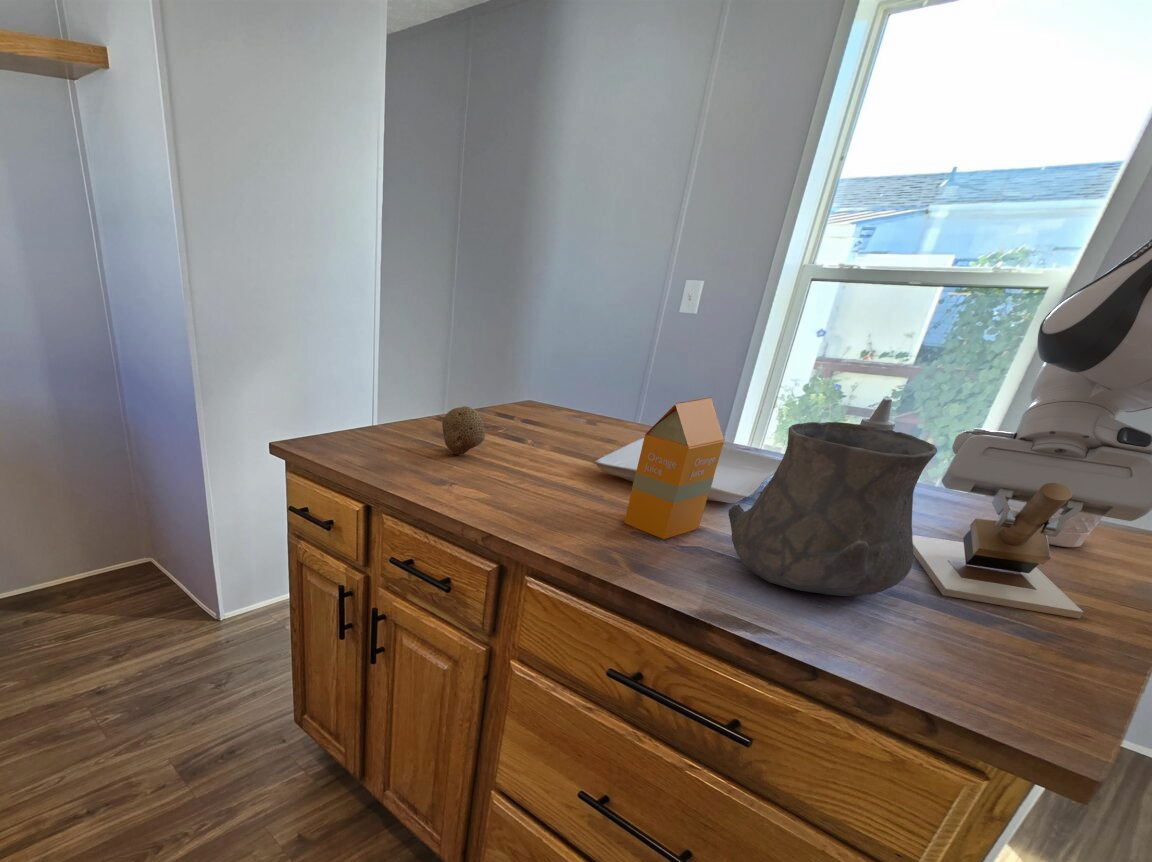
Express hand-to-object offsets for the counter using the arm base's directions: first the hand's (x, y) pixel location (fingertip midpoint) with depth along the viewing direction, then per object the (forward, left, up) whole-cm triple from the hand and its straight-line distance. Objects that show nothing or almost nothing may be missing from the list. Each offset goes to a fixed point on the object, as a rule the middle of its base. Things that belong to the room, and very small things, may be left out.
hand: (1027, 529), depth 86 cm
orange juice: (+43, -2, -8) cm, 44 cm away
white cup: (-14, -24, -8) cm, 29 cm away
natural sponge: (+83, -25, -8) cm, 87 cm away
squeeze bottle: (+13, -29, -8) cm, 32 cm away
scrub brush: (0, -5, -6) cm, 8 cm away
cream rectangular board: (+1, -3, -8) cm, 9 cm away
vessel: (+25, +9, -8) cm, 28 cm away
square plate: (+39, -30, -8) cm, 50 cm away
